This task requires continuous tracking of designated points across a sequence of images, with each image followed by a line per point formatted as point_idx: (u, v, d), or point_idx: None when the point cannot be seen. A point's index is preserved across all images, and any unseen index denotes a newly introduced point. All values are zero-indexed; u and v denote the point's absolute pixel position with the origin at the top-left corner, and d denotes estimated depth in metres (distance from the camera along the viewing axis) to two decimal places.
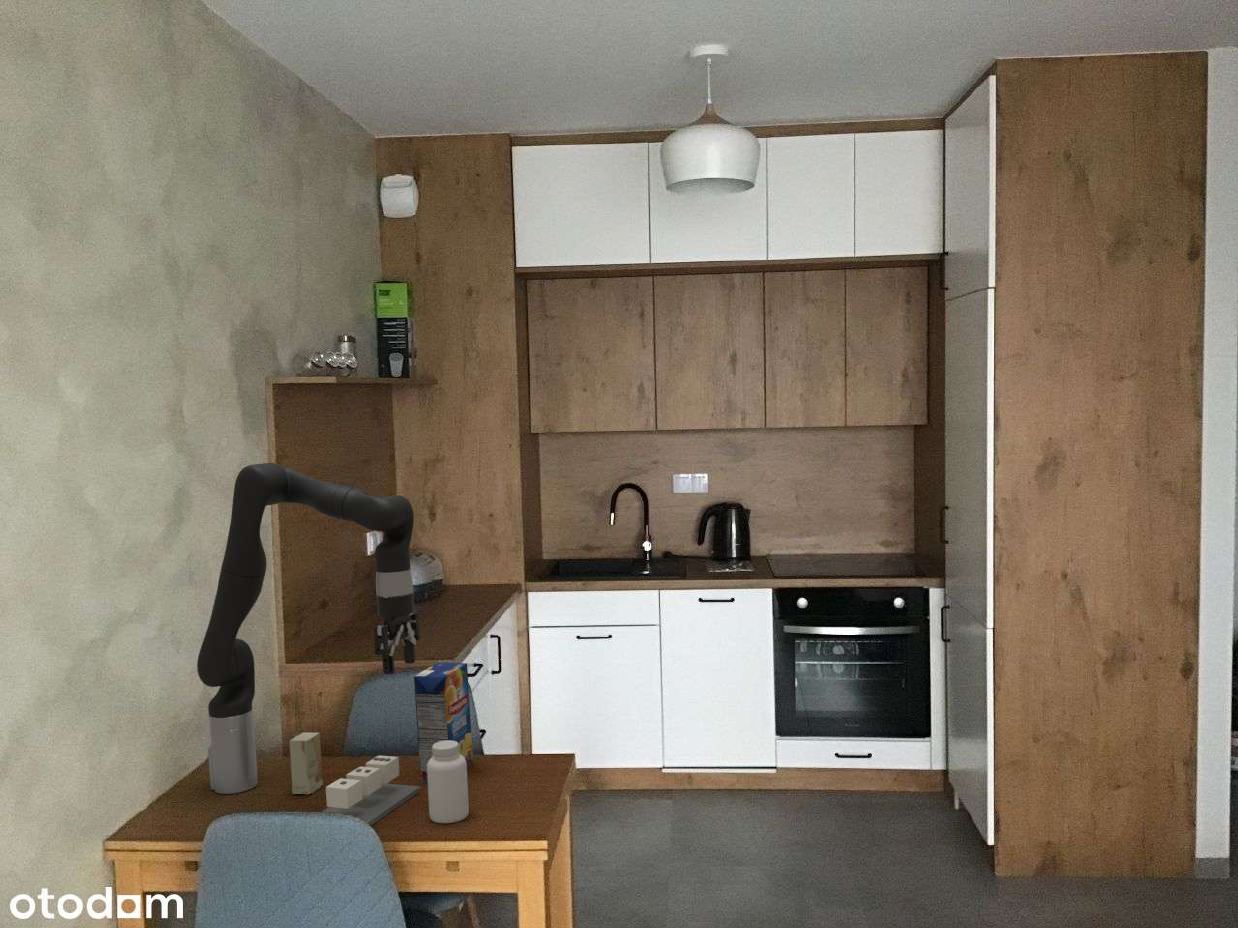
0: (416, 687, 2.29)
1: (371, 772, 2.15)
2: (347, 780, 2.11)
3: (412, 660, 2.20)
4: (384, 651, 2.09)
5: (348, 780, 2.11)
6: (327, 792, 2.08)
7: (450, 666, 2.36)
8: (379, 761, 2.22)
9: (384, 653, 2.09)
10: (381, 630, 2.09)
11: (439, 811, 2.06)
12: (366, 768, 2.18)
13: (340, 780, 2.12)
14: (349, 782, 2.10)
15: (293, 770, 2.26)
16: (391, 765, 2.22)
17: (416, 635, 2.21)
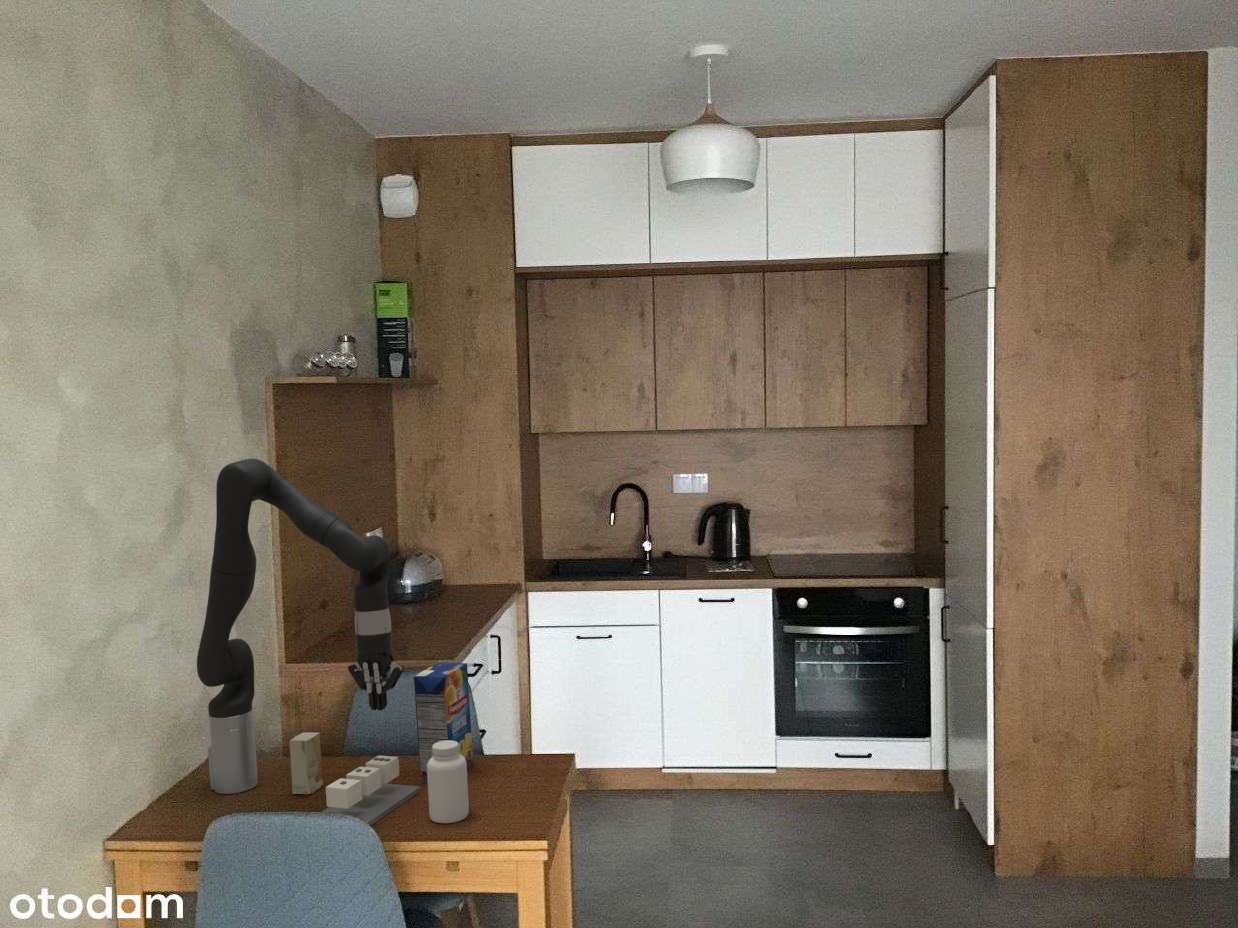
0: (416, 687, 2.29)
1: (371, 772, 2.15)
2: (347, 780, 2.11)
3: None
4: (393, 684, 2.22)
5: (348, 780, 2.11)
6: (327, 792, 2.08)
7: (450, 666, 2.36)
8: (379, 761, 2.22)
9: (393, 687, 2.22)
10: (401, 671, 2.20)
11: (439, 811, 2.06)
12: (366, 768, 2.18)
13: (340, 780, 2.12)
14: (349, 782, 2.10)
15: (293, 770, 2.26)
16: (391, 765, 2.22)
17: None
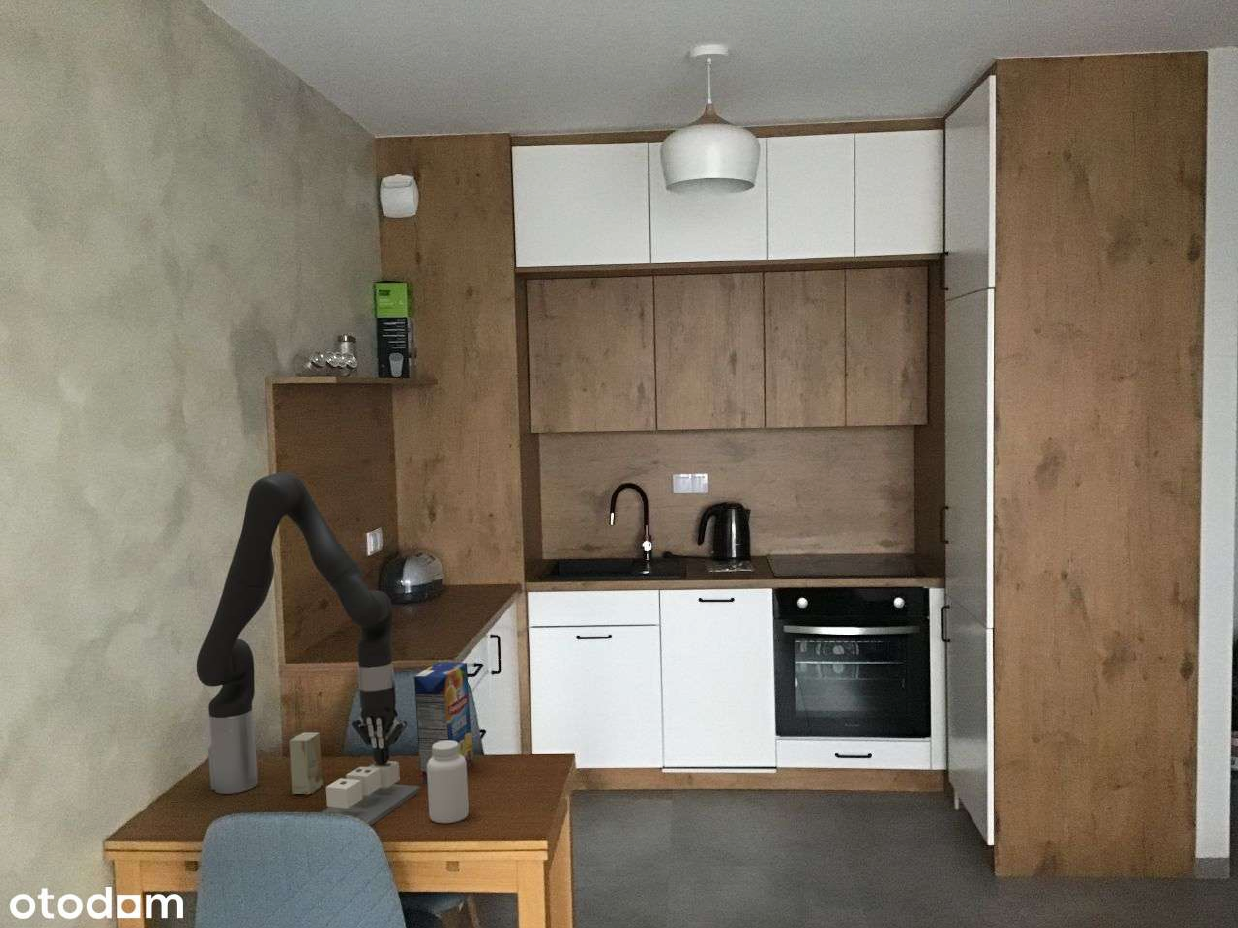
0: (416, 687, 2.29)
1: (371, 772, 2.15)
2: (347, 780, 2.11)
3: None
4: (395, 738, 2.22)
5: (348, 780, 2.11)
6: (327, 792, 2.08)
7: (450, 666, 2.36)
8: (379, 766, 2.22)
9: None
10: (404, 727, 2.21)
11: (439, 811, 2.06)
12: (366, 768, 2.18)
13: (340, 780, 2.12)
14: (349, 782, 2.10)
15: (293, 770, 2.26)
16: (392, 770, 2.22)
17: None
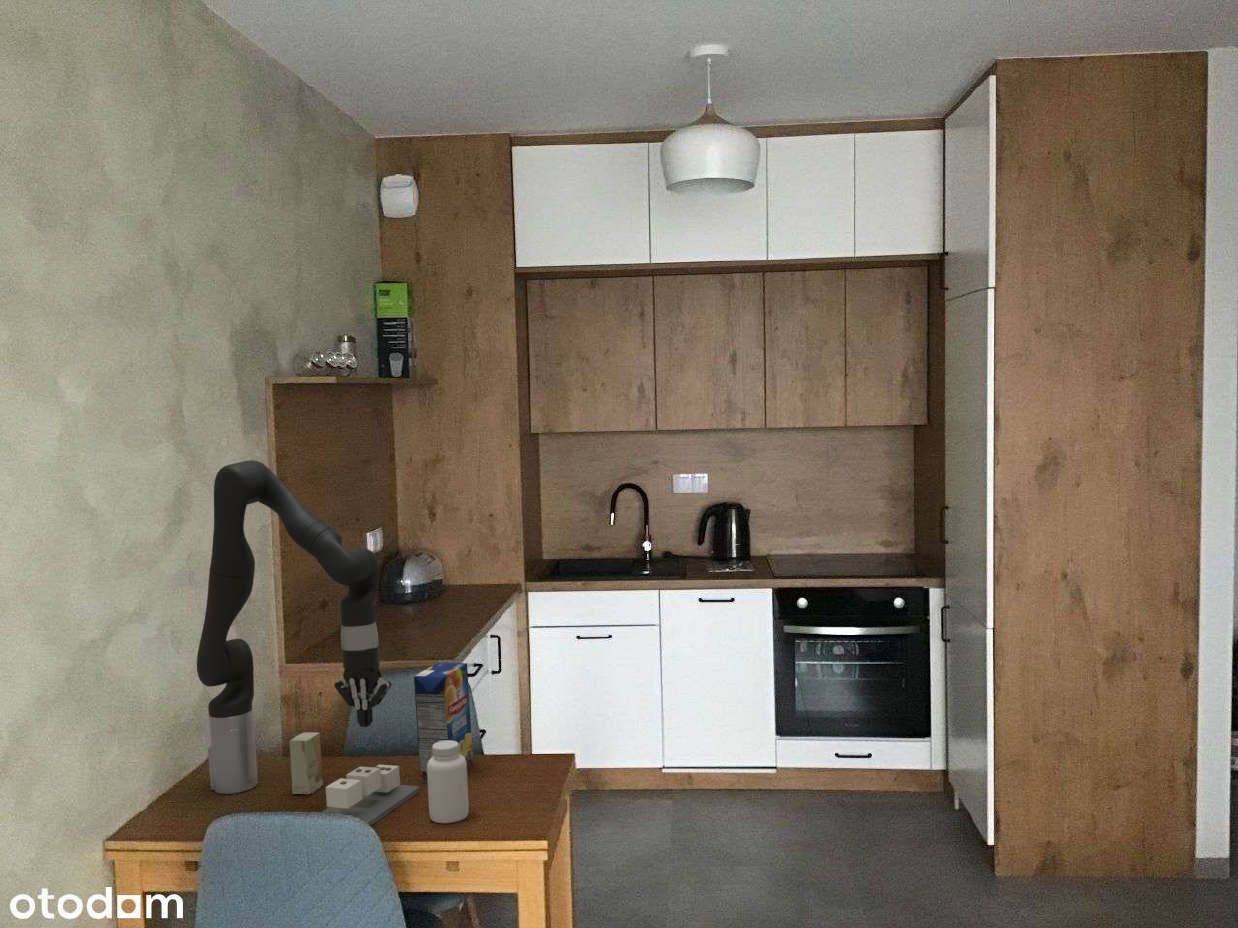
0: (416, 687, 2.29)
1: (371, 772, 2.15)
2: (347, 780, 2.11)
3: None
4: (379, 700, 2.17)
5: (348, 780, 2.11)
6: (327, 792, 2.08)
7: (450, 666, 2.36)
8: (380, 770, 2.22)
9: (378, 703, 2.17)
10: (388, 687, 2.15)
11: (439, 811, 2.06)
12: (366, 768, 2.18)
13: (340, 780, 2.12)
14: (349, 782, 2.10)
15: (293, 770, 2.26)
16: (392, 774, 2.22)
17: None
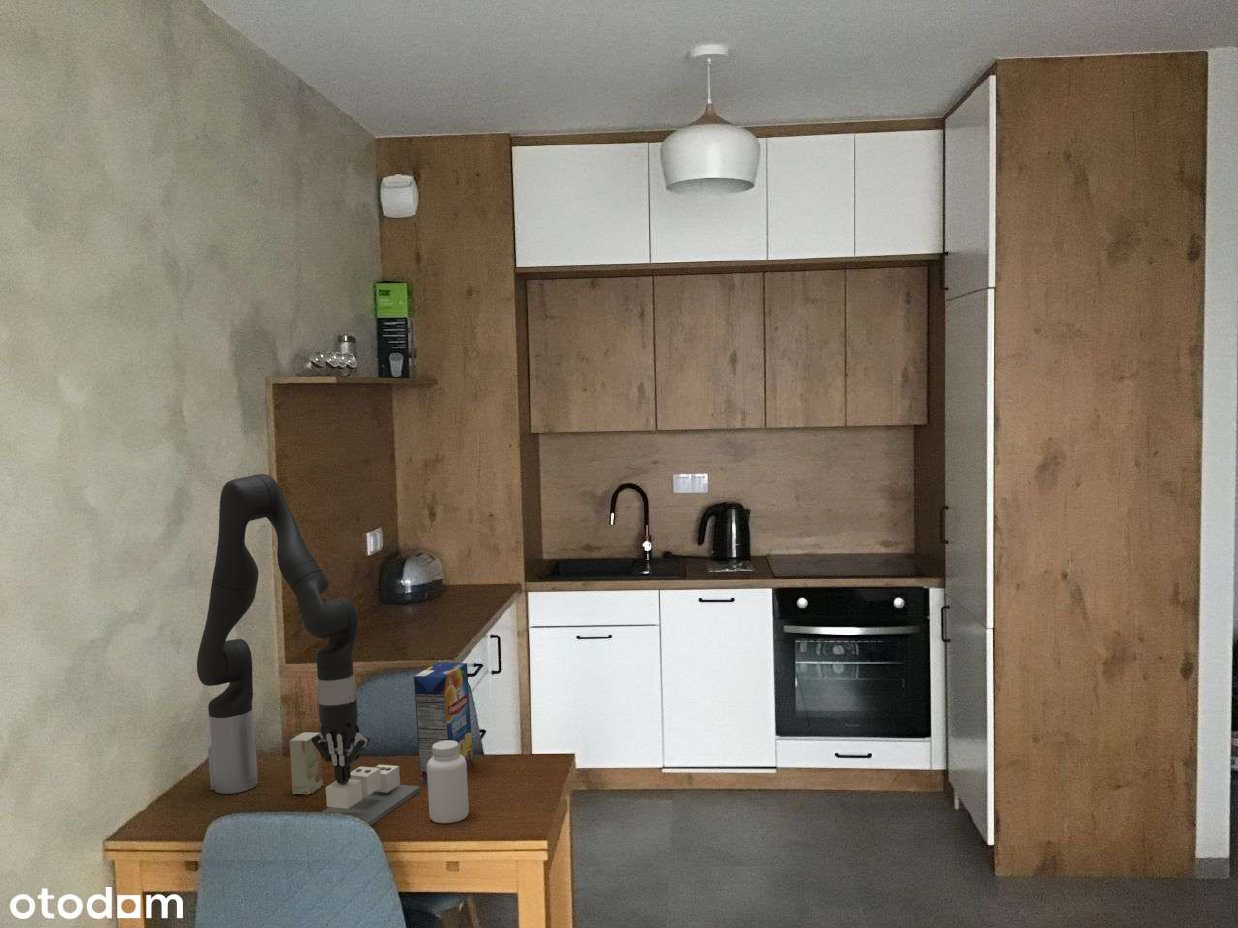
0: (416, 687, 2.29)
1: (371, 772, 2.15)
2: None
3: None
4: (357, 755, 2.09)
5: None
6: (327, 792, 2.08)
7: (450, 666, 2.36)
8: (380, 770, 2.22)
9: (356, 759, 2.09)
10: (366, 743, 2.08)
11: (439, 811, 2.06)
12: (366, 768, 2.18)
13: None
14: (349, 782, 2.10)
15: (293, 770, 2.26)
16: (392, 774, 2.22)
17: None
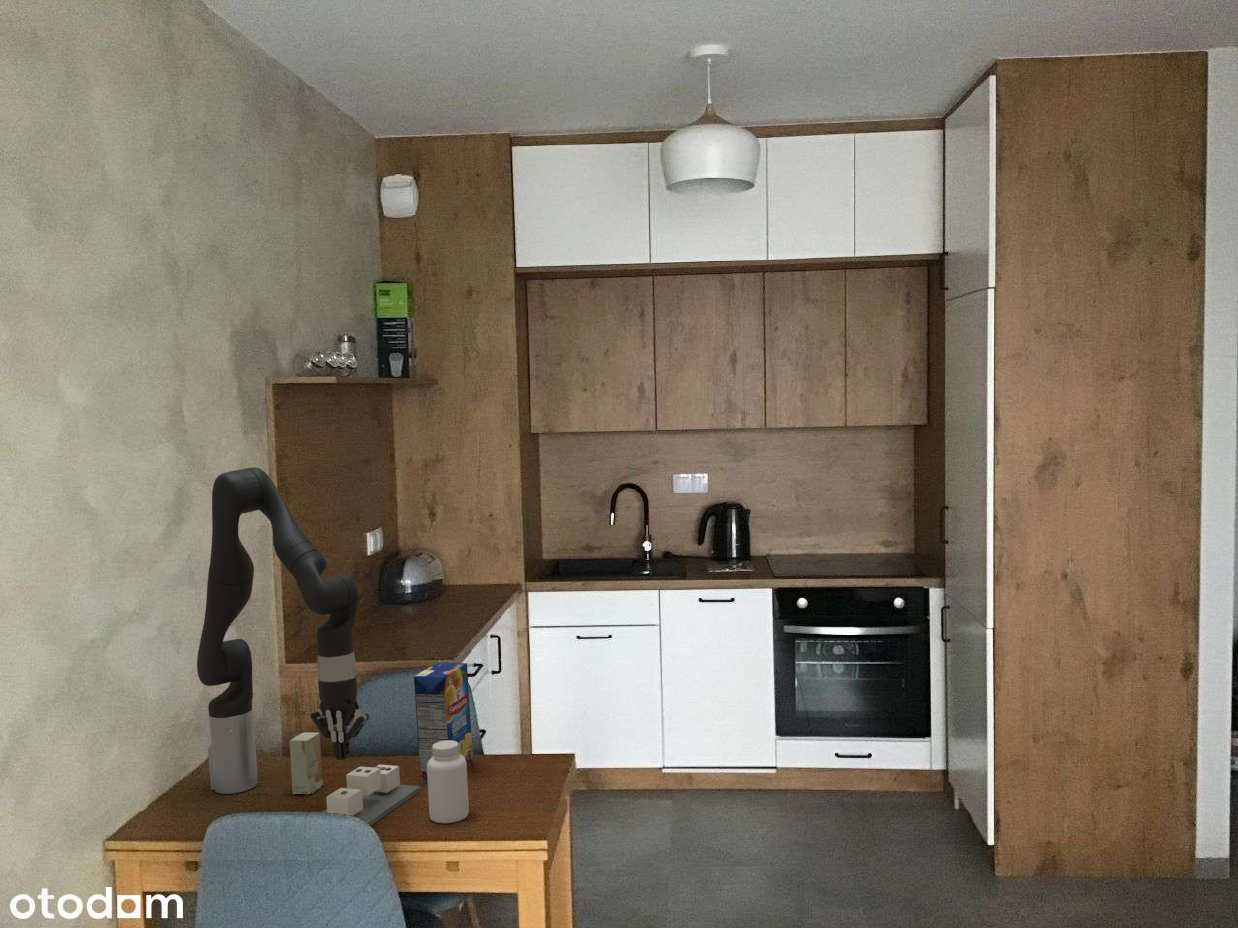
0: (416, 687, 2.29)
1: (371, 772, 2.15)
2: (348, 790, 2.12)
3: None
4: (356, 732, 2.09)
5: (349, 790, 2.12)
6: (328, 802, 2.08)
7: (450, 666, 2.36)
8: (380, 770, 2.22)
9: (355, 736, 2.09)
10: (365, 720, 2.08)
11: (439, 811, 2.06)
12: (366, 768, 2.18)
13: (341, 790, 2.12)
14: (350, 792, 2.10)
15: (293, 770, 2.26)
16: (392, 774, 2.22)
17: None
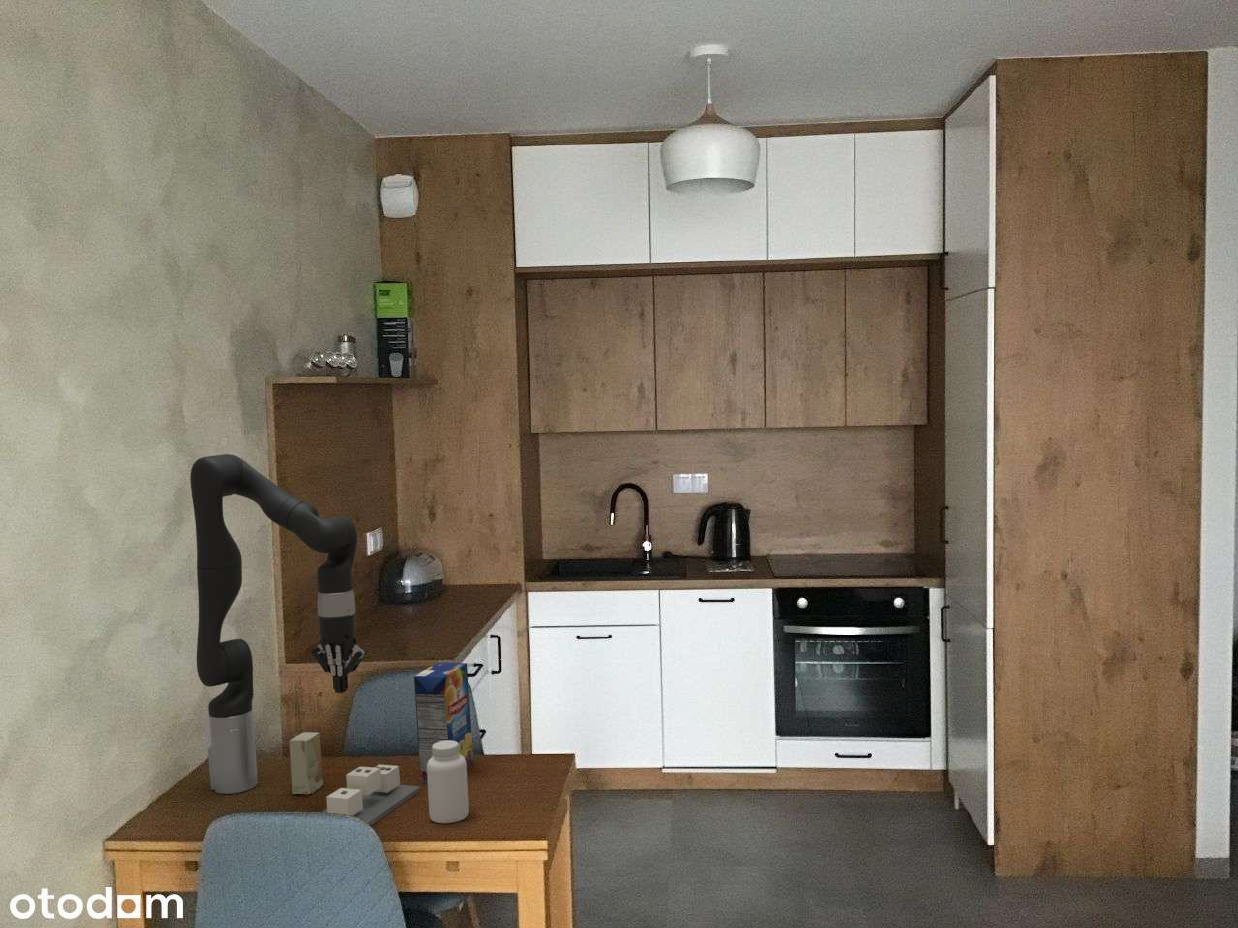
0: (416, 687, 2.29)
1: (371, 772, 2.15)
2: (348, 790, 2.12)
3: None
4: (355, 667, 2.19)
5: (349, 790, 2.12)
6: (328, 802, 2.08)
7: (450, 666, 2.36)
8: (380, 770, 2.22)
9: (354, 670, 2.19)
10: (363, 655, 2.17)
11: (439, 811, 2.06)
12: (366, 768, 2.18)
13: (341, 790, 2.12)
14: (350, 792, 2.10)
15: (293, 770, 2.26)
16: (392, 774, 2.22)
17: None
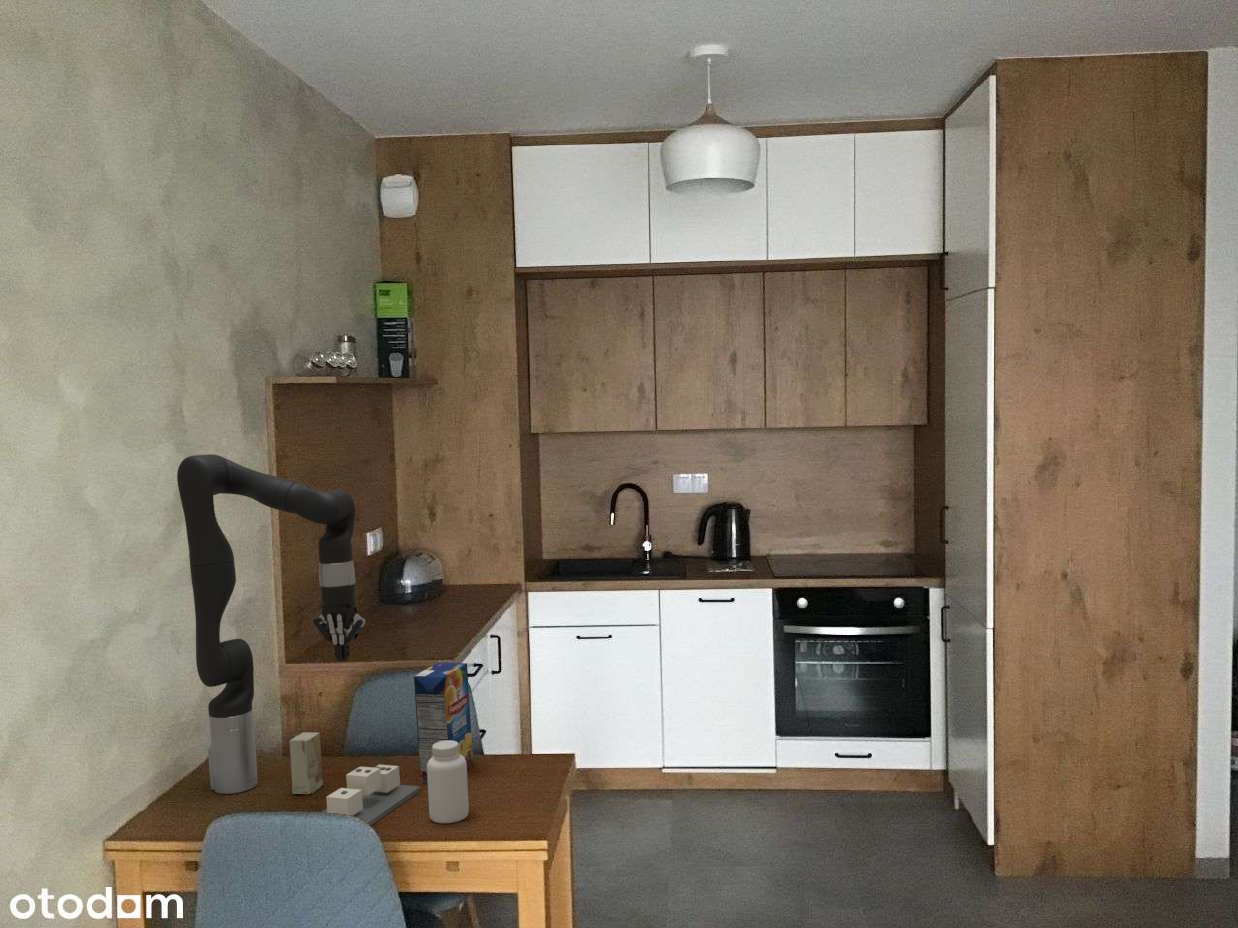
0: (416, 687, 2.29)
1: (371, 772, 2.15)
2: (348, 790, 2.12)
3: None
4: (356, 635, 2.25)
5: (349, 790, 2.12)
6: (328, 802, 2.08)
7: (450, 666, 2.36)
8: (380, 770, 2.22)
9: (355, 639, 2.25)
10: (364, 623, 2.24)
11: (439, 811, 2.06)
12: (366, 768, 2.18)
13: (341, 790, 2.12)
14: (350, 792, 2.10)
15: (293, 770, 2.26)
16: (392, 774, 2.22)
17: None
